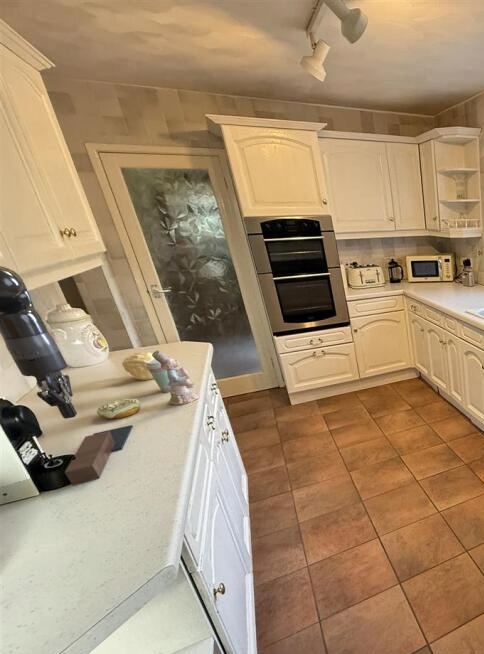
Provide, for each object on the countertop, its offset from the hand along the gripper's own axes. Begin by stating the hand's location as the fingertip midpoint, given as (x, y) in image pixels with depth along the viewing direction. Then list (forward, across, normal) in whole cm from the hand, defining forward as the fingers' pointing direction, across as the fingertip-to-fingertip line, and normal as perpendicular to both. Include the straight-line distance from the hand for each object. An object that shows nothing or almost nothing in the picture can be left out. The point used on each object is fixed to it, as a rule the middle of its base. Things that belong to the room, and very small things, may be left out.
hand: (71, 416), depth 100 cm
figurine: (+14, -35, +17) cm, 41 cm away
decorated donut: (+14, -35, 0) cm, 38 cm away
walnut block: (+12, +10, 0) cm, 16 cm away
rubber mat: (+14, -13, 0) cm, 19 cm away
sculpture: (+14, -73, +3) cm, 74 cm away
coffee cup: (+14, -51, +11) cm, 54 cm away
